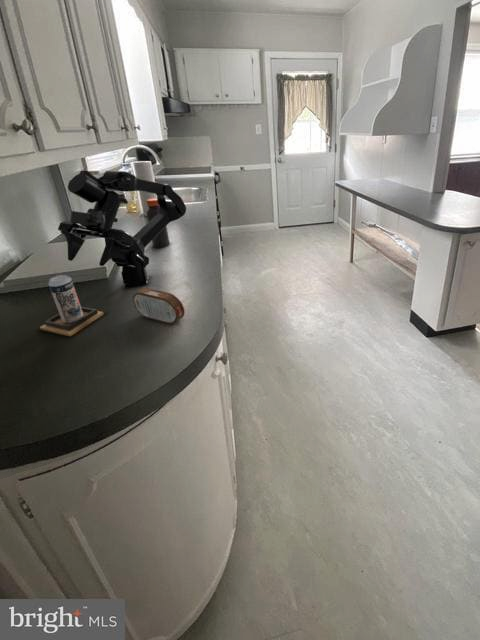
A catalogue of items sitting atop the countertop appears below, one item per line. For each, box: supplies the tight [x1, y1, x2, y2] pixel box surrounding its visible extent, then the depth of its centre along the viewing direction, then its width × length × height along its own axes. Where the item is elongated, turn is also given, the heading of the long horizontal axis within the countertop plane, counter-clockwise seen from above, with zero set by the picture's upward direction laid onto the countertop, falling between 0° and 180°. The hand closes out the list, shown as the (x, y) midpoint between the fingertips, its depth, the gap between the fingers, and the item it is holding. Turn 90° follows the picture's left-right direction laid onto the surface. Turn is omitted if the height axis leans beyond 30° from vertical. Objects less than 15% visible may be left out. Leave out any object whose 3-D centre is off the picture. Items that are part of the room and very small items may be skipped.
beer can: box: [48, 274, 83, 323], centre depth 77 cm, size 5×5×12 cm
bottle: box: [146, 197, 170, 248], centre depth 128 cm, size 7×7×20 cm
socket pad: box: [39, 306, 105, 337], centre depth 80 cm, size 10×10×2 cm
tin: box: [132, 286, 185, 325], centre depth 79 cm, size 15×3×8 cm, turn 68°
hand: (85, 263), depth 81 cm, fingers open, 9 cm apart
